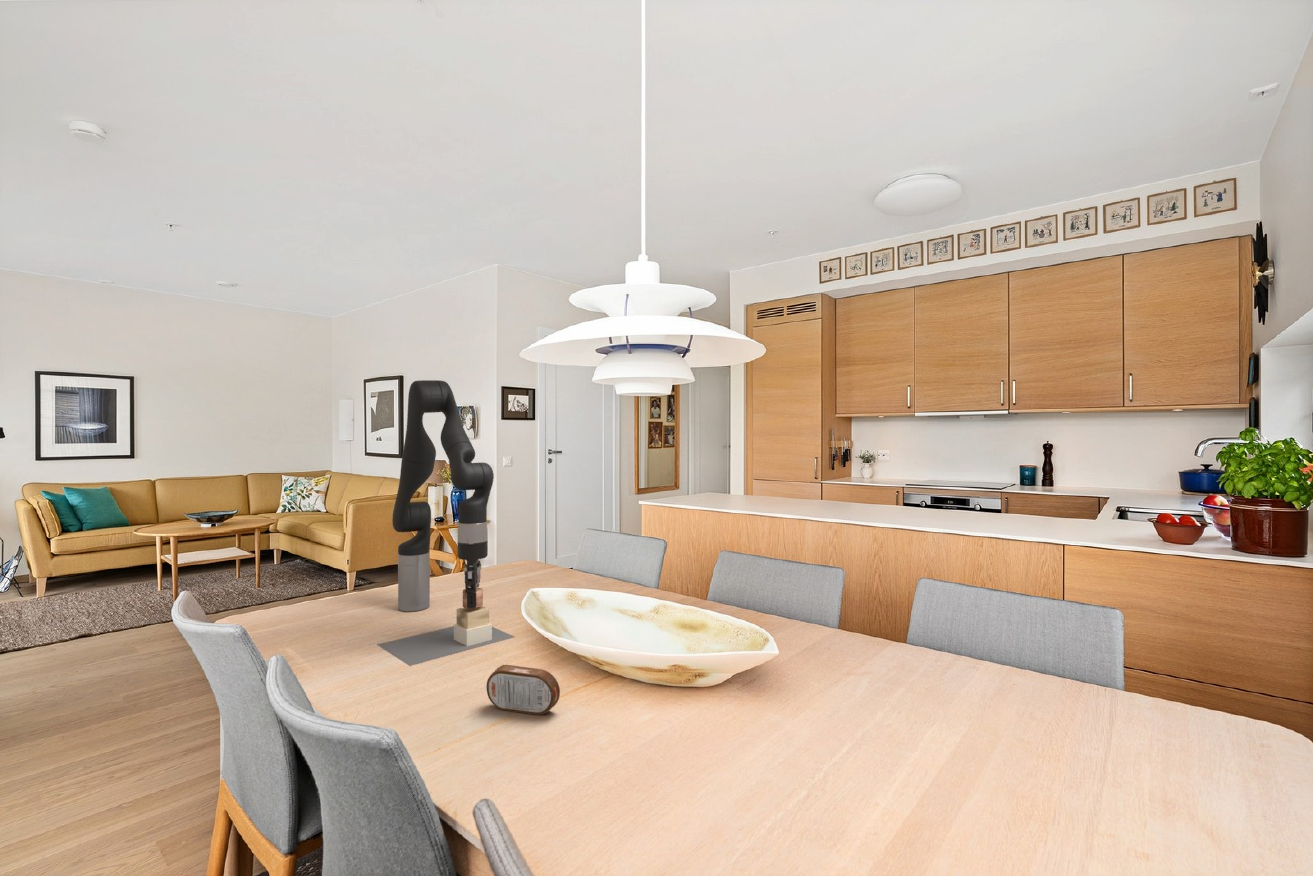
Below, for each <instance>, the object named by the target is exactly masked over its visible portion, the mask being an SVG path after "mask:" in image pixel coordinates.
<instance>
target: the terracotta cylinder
mask: <svg viewBox="0 0 1313 876" xmlns="http://www.w3.org/2000/svg"><path fill="white" fill-rule="evenodd" d="M483 591H484V589H483V588H481V587H477V592H476V607H475V608H477V607H480V606H483V604H484V602H483V601H484V599H483V598H484V597H483V595H484V593H483ZM463 607H464V608H467V594H466V592H465V588H464V589H463V590H462V608H463Z"/></svg>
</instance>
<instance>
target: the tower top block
mask: <svg viewBox="0 0 1313 876" xmlns="http://www.w3.org/2000/svg"><path fill="white" fill-rule="evenodd" d="M489 623H490V608H487V607H485V606H483V605H482V606H480V607H477V608H464V607H463V606H462V607H460V608H456V624H457V625H459V626H461V627H463V628H465V629H472V628H476V627H480V626H484V625H488V624H489Z"/></svg>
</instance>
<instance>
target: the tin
mask: <svg viewBox="0 0 1313 876" xmlns="http://www.w3.org/2000/svg"><path fill="white" fill-rule="evenodd" d="M486 693H487V698H488V699H489V701H490V703H491V704H493V706H495V707H496V708H498V709H500V710H501V711H508V712H514V713H515V712H516V713H522V714H528V715H534V716H535V715H536V716H542V715H545V714H547V713H548V712H549V711H551V710H552V708H554V707H555V706H556V704H558V701H559V699H560V696H561V695H560V694H561V688H560V685H559V683H558V681H557V679H556V678H555V676H554V675H553V674H552V673H551V672H549V671H547V670H545V669H542V668H536V667H527V666H521V665H520V666H519V665H512V664H504V665H500V666H498V667H497V668H495V670H494V671H493V672H492V673H491V674H490V675H489V677H488V678H487V680H486Z"/></svg>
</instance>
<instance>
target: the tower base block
mask: <svg viewBox="0 0 1313 876" xmlns="http://www.w3.org/2000/svg"><path fill="white" fill-rule="evenodd" d="M453 626H454V640H455V641H457V642H459V643H461V644H463V645H465V646H470V645H474V644H478V643H481V642H485V641H489V640H492V627H493V624H492V623H491V622H489V624H488V625H484V626H480V627H476V628H472V629H465V628H463V627H461V626H459V625H457V623H454V624H453Z"/></svg>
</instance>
